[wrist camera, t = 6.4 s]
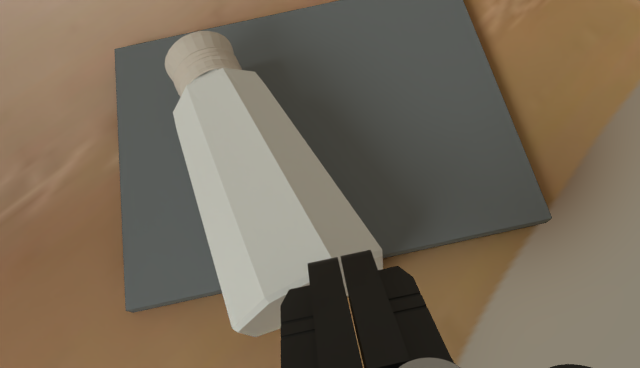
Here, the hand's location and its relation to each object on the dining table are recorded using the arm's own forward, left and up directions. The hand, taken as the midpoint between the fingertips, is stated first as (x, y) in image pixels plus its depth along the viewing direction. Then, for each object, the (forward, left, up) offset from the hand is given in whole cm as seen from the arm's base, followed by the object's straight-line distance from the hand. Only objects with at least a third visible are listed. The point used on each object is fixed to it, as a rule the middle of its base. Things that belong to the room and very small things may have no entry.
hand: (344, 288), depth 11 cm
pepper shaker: (-1, -1, -4) cm, 4 cm away
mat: (-7, +4, -7) cm, 10 cm away
